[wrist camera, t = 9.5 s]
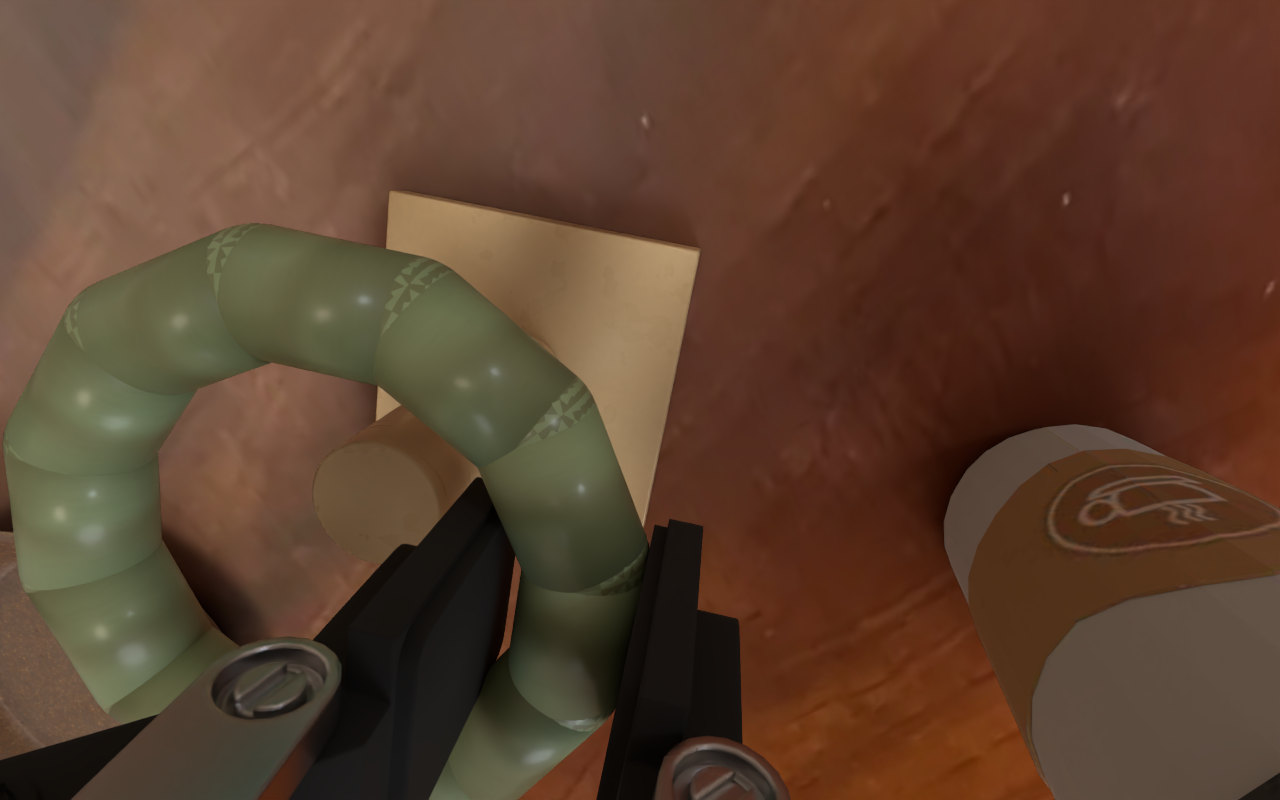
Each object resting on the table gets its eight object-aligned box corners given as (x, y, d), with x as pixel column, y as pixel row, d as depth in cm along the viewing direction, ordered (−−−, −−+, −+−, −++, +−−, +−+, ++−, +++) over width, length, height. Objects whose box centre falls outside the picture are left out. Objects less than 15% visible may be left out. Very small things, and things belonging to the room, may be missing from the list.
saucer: (270, 520, 24) (216, 559, 22) (311, 833, 29) (270, 896, 26) (-95, 480, 26) (-185, 513, 23) (-1, 784, 30) (-68, 839, 28)
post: (701, 248, 20) (675, 305, 10) (645, 520, 23) (585, 762, 13) (403, 190, 20) (120, 194, 11) (386, 463, 23) (149, 655, 14)
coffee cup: (1190, 353, 19) (2557, 852, 5) (1208, 609, 21) (2193, 1479, 7) (882, 420, 21) (1223, 939, 6) (927, 651, 23) (1259, 1425, 9)
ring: (706, 304, 9) (702, 330, 8) (594, 818, 12) (572, 920, 11) (63, 170, 10) (-74, 167, 8) (105, 692, 13) (12, 768, 11)
